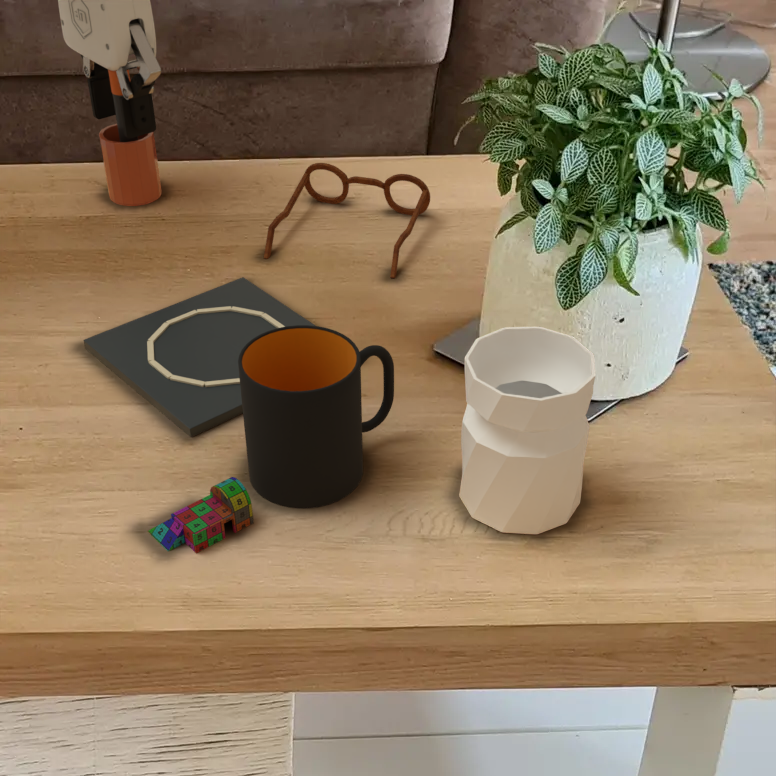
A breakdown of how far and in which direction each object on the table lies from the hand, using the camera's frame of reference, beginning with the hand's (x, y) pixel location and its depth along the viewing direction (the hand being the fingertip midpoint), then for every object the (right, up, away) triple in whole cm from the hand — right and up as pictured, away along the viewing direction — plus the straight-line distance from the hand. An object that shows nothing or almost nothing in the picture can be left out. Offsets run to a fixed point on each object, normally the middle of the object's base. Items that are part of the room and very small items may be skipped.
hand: (124, 122), depth 115 cm
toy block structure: (+15, -38, -34) cm, 53 cm away
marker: (0, -6, +5) cm, 8 cm away
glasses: (+22, -12, -1) cm, 25 cm away
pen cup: (0, -6, +5) cm, 8 cm away
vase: (+37, -36, -30) cm, 60 cm away
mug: (+23, -33, -28) cm, 49 cm away
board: (+13, -24, -17) cm, 33 cm away
